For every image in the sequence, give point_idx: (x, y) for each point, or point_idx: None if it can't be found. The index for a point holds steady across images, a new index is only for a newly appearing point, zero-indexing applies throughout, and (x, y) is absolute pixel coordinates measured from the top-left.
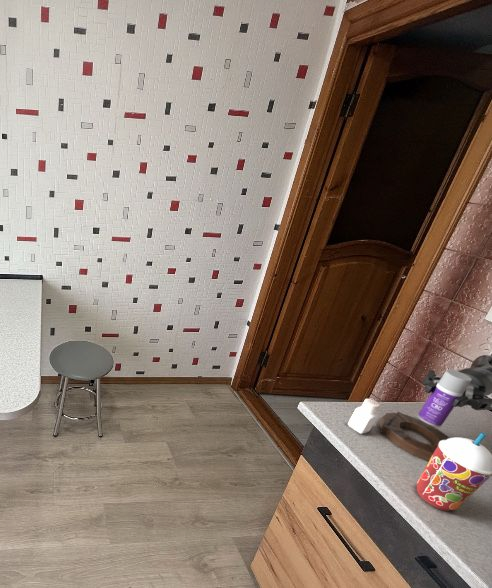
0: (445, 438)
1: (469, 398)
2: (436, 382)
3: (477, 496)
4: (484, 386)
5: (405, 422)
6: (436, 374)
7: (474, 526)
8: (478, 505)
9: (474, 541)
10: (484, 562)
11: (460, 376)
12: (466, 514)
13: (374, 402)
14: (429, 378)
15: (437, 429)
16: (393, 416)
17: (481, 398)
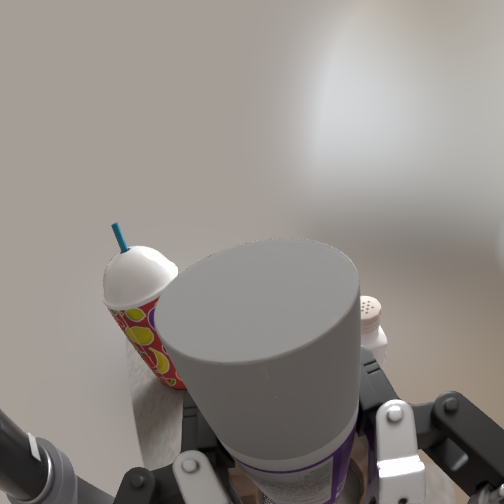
0: None
1: (181, 453)
2: (382, 405)
3: (151, 453)
4: None
5: (363, 492)
6: (500, 491)
7: (139, 382)
8: (145, 431)
9: (136, 360)
10: (126, 345)
11: (229, 275)
12: (150, 392)
13: (363, 311)
14: (435, 400)
15: None
16: None
17: None
